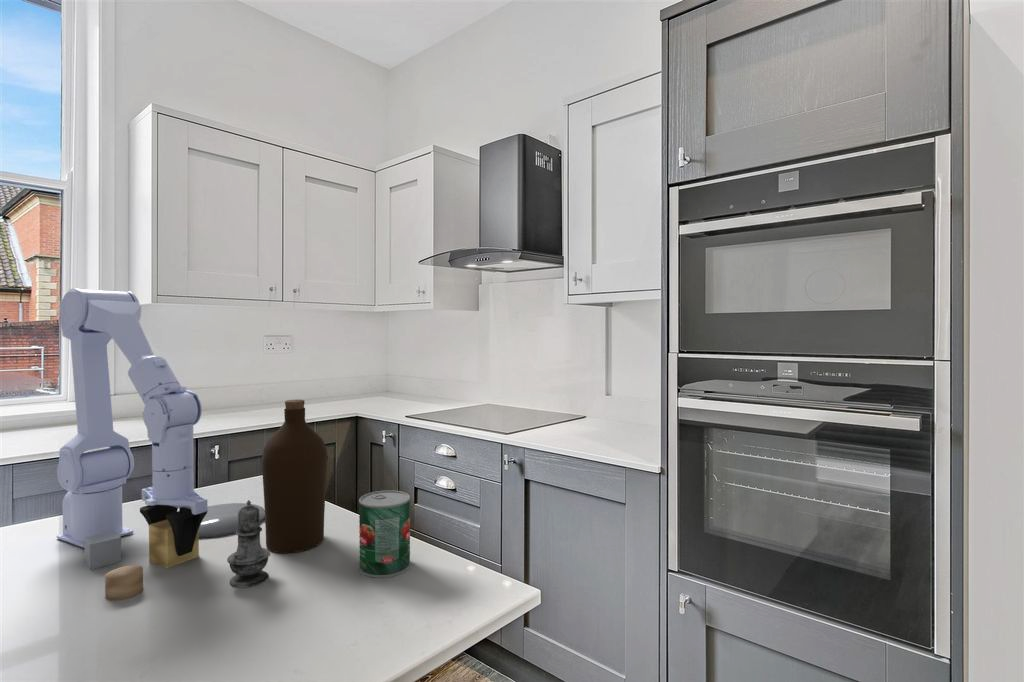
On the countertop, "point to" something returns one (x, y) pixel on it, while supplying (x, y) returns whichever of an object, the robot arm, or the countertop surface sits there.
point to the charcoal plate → (223, 519)
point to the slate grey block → (102, 549)
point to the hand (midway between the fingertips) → (174, 550)
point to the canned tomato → (384, 533)
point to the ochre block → (167, 546)
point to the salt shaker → (248, 550)
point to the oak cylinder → (123, 582)
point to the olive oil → (294, 484)
